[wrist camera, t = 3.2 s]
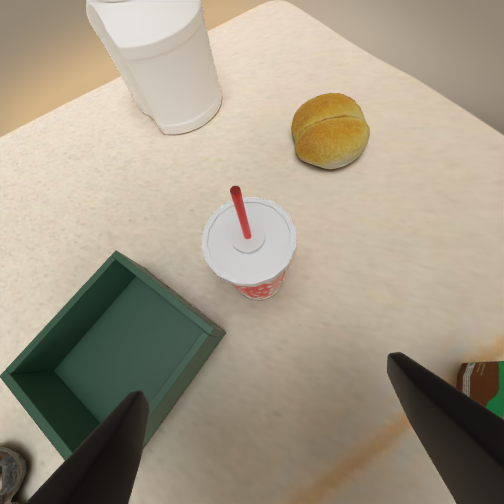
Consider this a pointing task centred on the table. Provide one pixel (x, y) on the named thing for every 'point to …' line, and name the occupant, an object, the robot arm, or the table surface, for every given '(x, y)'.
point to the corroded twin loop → (10, 474)
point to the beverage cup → (250, 244)
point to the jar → (161, 58)
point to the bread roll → (330, 131)
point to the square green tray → (111, 354)
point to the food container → (484, 384)
